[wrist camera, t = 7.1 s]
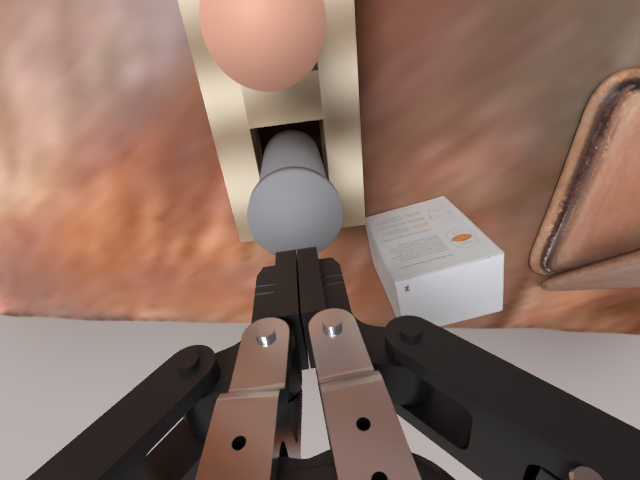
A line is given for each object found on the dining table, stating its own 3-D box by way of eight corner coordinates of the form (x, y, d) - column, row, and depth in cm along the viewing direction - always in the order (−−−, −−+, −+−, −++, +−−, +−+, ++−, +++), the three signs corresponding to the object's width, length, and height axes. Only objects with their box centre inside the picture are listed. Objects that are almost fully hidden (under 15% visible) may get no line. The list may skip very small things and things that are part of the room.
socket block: (130, -272, 18) (81, -369, 14) (322, -293, 18) (334, -395, 14) (246, 214, 32) (240, 242, 28) (354, 199, 32) (365, 224, 28)
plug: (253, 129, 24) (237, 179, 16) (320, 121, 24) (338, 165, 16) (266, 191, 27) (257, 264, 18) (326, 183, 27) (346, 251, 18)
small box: (372, 263, 36) (402, 338, 27) (362, 215, 33) (391, 282, 24) (449, 243, 36) (505, 313, 27) (445, 193, 33) (507, 252, 24)
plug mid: (225, -13, 20) (182, -48, 12) (304, -22, 20) (319, -65, 12) (242, 75, 23) (217, 98, 14) (314, 66, 23) (331, 84, 14)
